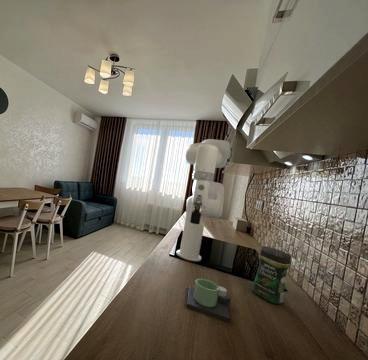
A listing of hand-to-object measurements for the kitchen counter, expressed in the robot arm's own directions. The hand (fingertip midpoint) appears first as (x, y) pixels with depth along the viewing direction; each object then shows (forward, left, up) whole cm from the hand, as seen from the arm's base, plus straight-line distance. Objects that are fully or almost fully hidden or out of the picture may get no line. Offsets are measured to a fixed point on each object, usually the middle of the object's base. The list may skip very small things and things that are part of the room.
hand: (194, 221), depth 82 cm
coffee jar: (-8, +30, -24) cm, 39 cm away
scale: (+12, +8, -23) cm, 27 cm away
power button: (+8, +12, -21) cm, 25 cm away
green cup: (+13, +7, -22) cm, 27 cm away
